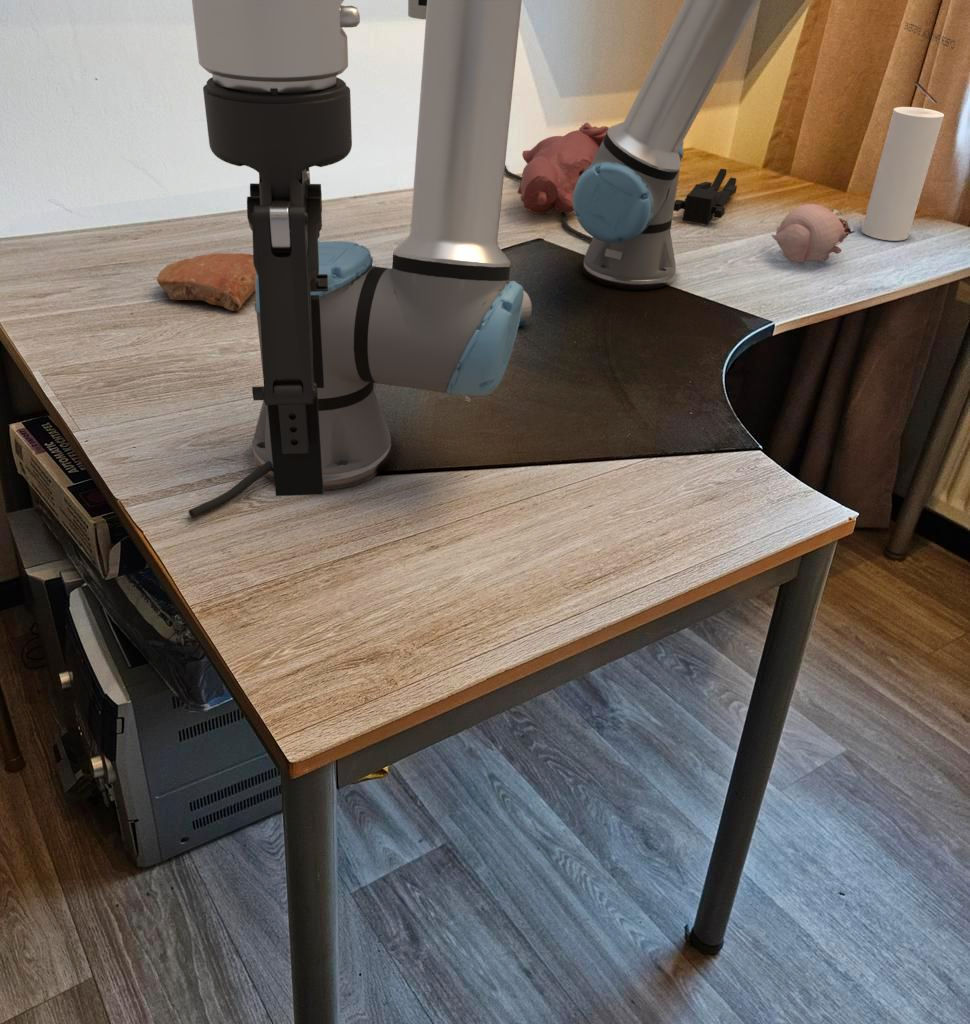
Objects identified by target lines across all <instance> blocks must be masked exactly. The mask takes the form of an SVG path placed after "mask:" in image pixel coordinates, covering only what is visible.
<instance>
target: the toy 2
mask: <svg viewBox="0 0 970 1024" xmlns="http://www.w3.org/2000/svg"><path fill="white" fill-rule="evenodd" d="M853 233H855V230H852V229H851V227H850V225H849V221H848V219H846V218H843V215H842V213H841V212H839V210H838V209H832V210H830V209H829V208H827V207H826V206H824V205H821V204H817V203H804V204H801V205H799V206H797V207H796V208H794V209H792V210H791V211H790V212H789V213H788V214H787V215H786V216H785V217H784V218H783V220H782V222H781V223H780V225H779V226H777V227H776V232H775V234H771V237H772V238H773V240H775V241H776V243H777V244H778V247H779V248H780V250H781V252H782V255H783V256H784V257H785V259H786V260H787V261H789V262H790V263H793V264H798V265H803V264H805V262H815V263H816V262H817V263H818V264H820V261H822V263H824V262H827V261H828V260H829V258H830V254H831V253H834V254H837V255H838V254H841V253H842V248H840V247H839V246H838V245H840V244H842V243H843V242H844V241H845V239H846V238H848V236H849V235H851V234H853Z"/></svg>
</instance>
